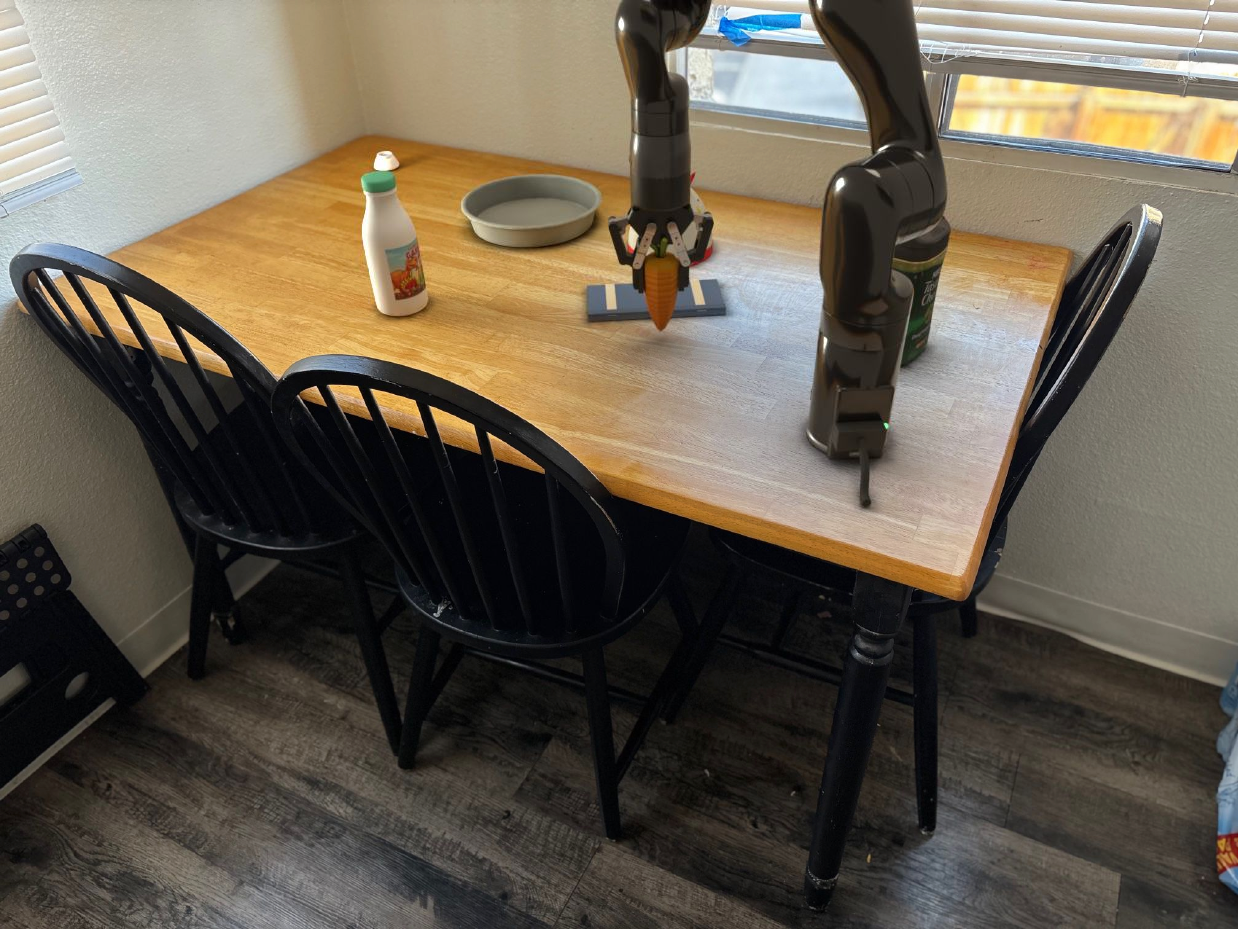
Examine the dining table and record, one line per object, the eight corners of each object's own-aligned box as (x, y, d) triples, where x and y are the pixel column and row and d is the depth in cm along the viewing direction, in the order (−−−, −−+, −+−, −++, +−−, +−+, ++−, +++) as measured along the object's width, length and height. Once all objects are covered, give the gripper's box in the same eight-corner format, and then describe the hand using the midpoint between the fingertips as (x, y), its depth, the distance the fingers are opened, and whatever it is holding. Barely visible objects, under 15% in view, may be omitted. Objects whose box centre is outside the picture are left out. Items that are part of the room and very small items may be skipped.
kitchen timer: (686, 275, 142) (687, 181, 132) (612, 257, 148) (609, 166, 138) (726, 242, 151) (730, 152, 141) (655, 226, 157) (655, 139, 148)
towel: (725, 314, 131) (726, 307, 130) (588, 321, 131) (588, 314, 130) (716, 283, 139) (717, 276, 138) (587, 290, 139) (586, 282, 138)
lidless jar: (403, 164, 186) (382, 162, 187) (401, 150, 184) (379, 148, 185) (391, 173, 182) (370, 171, 183) (388, 158, 180) (367, 156, 182)
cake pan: (550, 263, 146) (548, 237, 144) (435, 235, 157) (431, 210, 154) (628, 210, 163) (628, 186, 160) (519, 188, 173) (517, 164, 170)
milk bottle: (379, 321, 133) (349, 188, 121) (375, 298, 139) (347, 169, 127) (431, 313, 134) (407, 181, 122) (426, 290, 140) (403, 162, 128)
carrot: (675, 341, 123) (676, 237, 114) (640, 338, 124) (637, 235, 115) (681, 323, 127) (682, 221, 118) (646, 320, 128) (644, 219, 119)
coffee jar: (902, 373, 117) (928, 239, 106) (848, 354, 121) (867, 222, 110) (936, 343, 123) (963, 212, 111) (883, 326, 127) (904, 198, 115)
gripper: (603, 178, 108) (608, 306, 118) (722, 172, 108) (717, 300, 119) (601, 157, 114) (606, 280, 124) (714, 151, 114) (710, 275, 125)
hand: (660, 289), depth 121 cm, fingers closed on carrot, 5 cm apart
